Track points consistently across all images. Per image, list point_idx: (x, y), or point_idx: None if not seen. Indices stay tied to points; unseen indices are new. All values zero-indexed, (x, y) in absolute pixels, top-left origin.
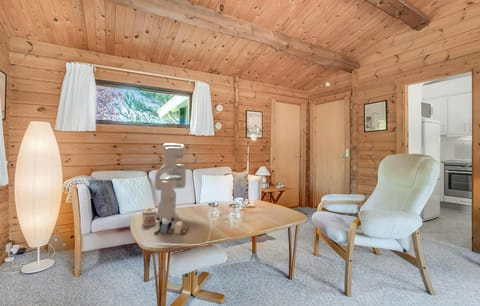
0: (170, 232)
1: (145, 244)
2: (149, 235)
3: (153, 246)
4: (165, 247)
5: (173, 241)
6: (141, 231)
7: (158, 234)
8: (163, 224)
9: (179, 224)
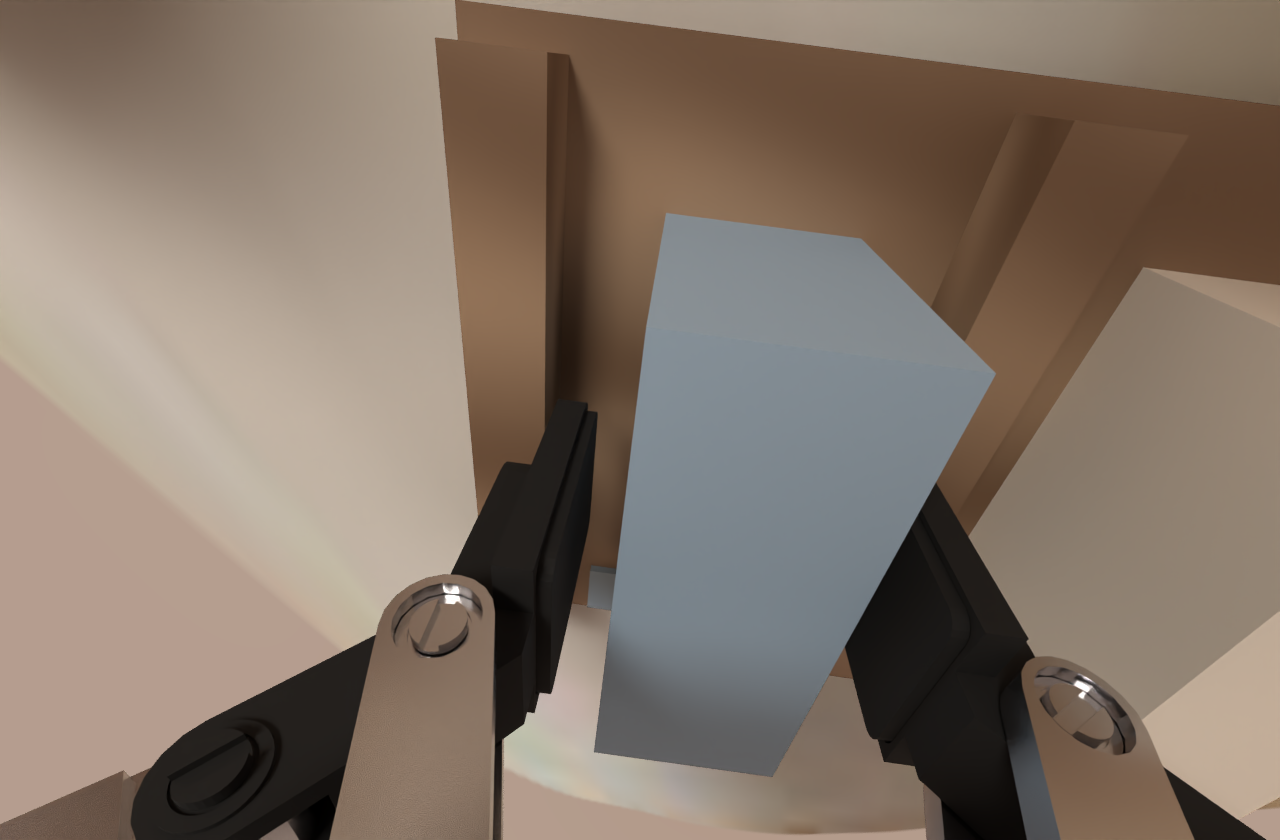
0: (849, 667)
1: (513, 763)
2: (416, 536)
3: (622, 802)
4: (756, 830)
5: (863, 751)
6: (61, 283)
7: (594, 605)
8: (662, 716)
9: (1258, 772)
